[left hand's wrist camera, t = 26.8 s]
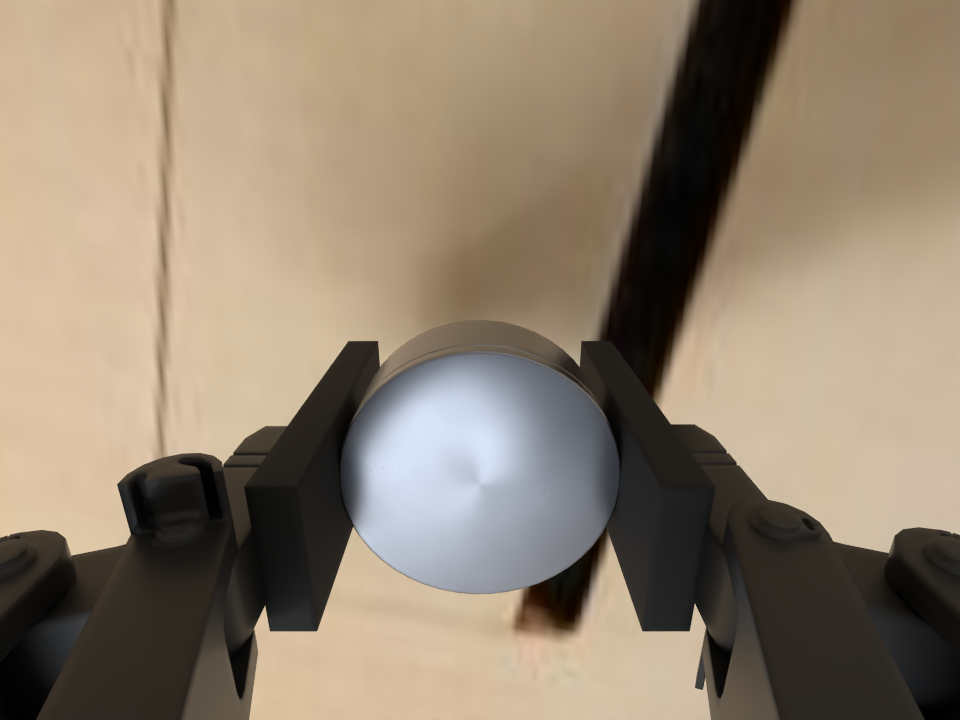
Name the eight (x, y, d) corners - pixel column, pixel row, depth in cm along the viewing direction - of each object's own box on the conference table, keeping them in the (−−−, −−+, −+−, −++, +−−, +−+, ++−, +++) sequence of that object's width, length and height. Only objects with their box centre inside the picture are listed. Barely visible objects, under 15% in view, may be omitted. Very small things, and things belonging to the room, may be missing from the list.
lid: (581, 295, 11) (600, 322, 9) (614, 511, 12) (637, 570, 11) (328, 348, 11) (298, 385, 9) (396, 550, 13) (382, 613, 11)
